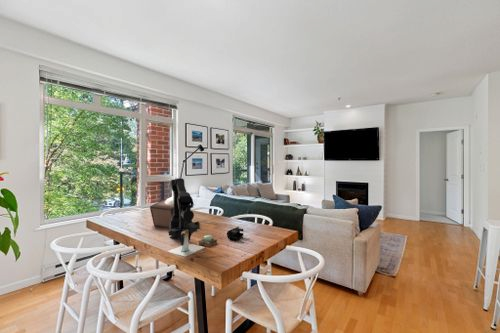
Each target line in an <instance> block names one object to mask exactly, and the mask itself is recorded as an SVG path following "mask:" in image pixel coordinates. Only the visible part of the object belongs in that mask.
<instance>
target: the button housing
mask: <svg viewBox="0 0 500 333" xmlns="http://www.w3.org/2000/svg"><path fill="white" fill-rule="evenodd" d="M215 244H218V239H217V238H213V237H212V241H209V242H206V241H204V238H202V239H199V240H198V246H202V247H207V248H209V247H212V246H214V245H215Z"/></svg>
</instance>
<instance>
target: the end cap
mask: <svg viewBox="0 0 500 333" xmlns="http://www.w3.org/2000/svg"><path fill="white" fill-rule="evenodd" d="M226 237H227V239H228V240H230V241H232V242H238V241H240V240H242V239H244V228H240V227H239V226H236V227H234V228H232V229H229V230H227V232H226Z"/></svg>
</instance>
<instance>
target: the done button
mask: <svg viewBox="0 0 500 333" xmlns="http://www.w3.org/2000/svg"><path fill="white" fill-rule="evenodd" d="M212 238H213V236H212V235H211V234H206V235H204V236H203V239H204V241H206V242H209V241H212Z"/></svg>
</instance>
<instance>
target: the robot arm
mask: <svg viewBox="0 0 500 333" xmlns="http://www.w3.org/2000/svg"><path fill="white" fill-rule="evenodd" d="M169 187H170V189H171V190H172V192H173V196H174V213H173V215H172V217H171V221H170V224H169V228H168V229H169V230H168V236H169V239H174V240H178V241H179V243H180V246H183V244H184V236H185V234H184V232H185V231H187V232H189V235H188V243H189V244H190V240H191V237H192V235H193V233H195V232H197V231H198V230H199V229H200V228H201V225H200V224H201V223H200V221H195V222H193V219H194V216H195V213H194V211H192V209H193V208H194V205H195V204H194V200H193V198H192V196H191V194H190V193H189V192H188V191H187V189H186V186H185V179H184V178H182V177H181V178H180V177H179V178H178V177H177V178H174V179H171V180H170V182H169ZM190 204H191V205H190Z"/></svg>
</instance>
